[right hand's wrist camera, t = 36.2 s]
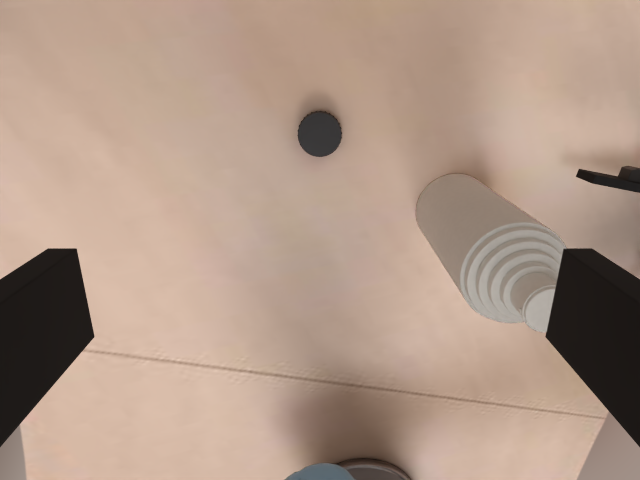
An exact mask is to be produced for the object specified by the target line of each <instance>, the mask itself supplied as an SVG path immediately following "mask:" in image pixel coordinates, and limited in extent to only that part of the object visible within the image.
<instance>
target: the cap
mask: <svg viewBox="0 0 640 480" xmlns="http://www.w3.org/2000/svg"><path fill="white" fill-rule="evenodd" d="M341 134H342V132H341V127H340V124H339V123H338V121H337V119H335V118H334V116H332V115H331V114H330V113H326V112H322V111H316V112H313V113H312V112H311V114H309V115H307V116H306V117H304V119H303V121H301V124H300V125H299V129H298V139H299V142H300V145H301V146H302V148H303V149H304V150H305V151H306V152H307V153H309V154H310V155H313V156H317V157H323V156H327V155H329V154H331V153H333V152H334V151H335V150H336V149H337V147H338V146H339V144H340V141H341V138H342V137H341Z"/></svg>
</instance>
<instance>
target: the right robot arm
mask: <svg viewBox="0 0 640 480" xmlns="http://www.w3.org/2000/svg"><path fill="white" fill-rule="evenodd" d="M93 338H94V332H93V327H92V323H91V318H90V313H89V308H88V303H87V298H86V293H85V288H84V283H83V278H82V273H81V268H80V263H79V258H78V253H77V249H47V250H45V251H44V252H42V253H41V254H39V255H37V256H36V257H34V258H33V259H31V260H30V261H28V262H27V263H25V264H24V265H22V266H20V267H19V268H17V269H16V270H14V271H13V272H11V273H10V274H8V275H7V276H5V277H3V278H2V279H0V447H1V446H2V444H3V443H4V442H5V441H6V440H7V438H8V437H9V436H10V435H11V434H12V433H13V432H14V430H15V429H16V428H17V427H18V426H19V424H20V423H21V422H22V421H23V420H24V419H25V417H26V416H27V415H28V414H29V413H30V412H31V410H32V409H33V408H34V407H35V406H36V405H37V403H38V402H39V401H40V400H41V399H42V398H43V396H44V395H45V394H46V393H47V392H48V391H49V389H50V388H51V387H52V386H53V385H54V384H55V382H56V381H57V380H58V379H59V378H60V376H61V375H62V374H63V373H64V372H65V371H66V369H67V368H68V367H69V366H70V365H71V364H72V362H73V361H74V360H75V359H76V358H77V357H78V355H79V354H80V353H81V352H82V351H83V350H84V348H85V347H86V346H87V345H88V344H89V343H90V341H91V340H92V339H93ZM546 338H547V339H548V340H549V341H550V343H551V344H552V345H553V346H554V347H555V348H556V350H557V351H558V352H559V353H560V354H561V355H562V357H563V358H564V359H565V360H566V361H567V362H568V364H569V365H570V366H571V367H572V368H573V369H574V371H575V372H576V373H577V374H578V375H579V377H580V378H581V379H582V380H583V381H584V382H585V384H586V385H587V386H588V387H589V388H590V389H591V391H592V392H593V393H594V394H595V395H596V396H597V398H598V399H599V400H600V401H601V402H602V403H603V405H604V406H605V407H606V408H607V409H608V410H609V412H610V413H611V414H612V415H613V416H614V417H615V419H616V420H617V421H618V422H619V423H620V424H621V426H622V427H623V428H624V429H625V430H626V431H627V433H628V434H629V435H630V436H631V437H632V439H633V440H634V441H635V442H636V443H637V444H638V446H639V447H640V279H638V278H637V277H635V276H633V275H632V274H630V273H629V272H627V271H626V270H624V269H623V268H621V267H620V266H618V265H616V264H615V263H613V262H612V261H610V260H609V259H607V258H606V257H604V256H603V255H601V254H599V253H598V252H596V251H595V250H593V249H563V253H562V258H561V263H560V268H559V273H558V278H557V283H556V288H555V293H554V298H553V303H552V308H551V313H550V318H549V323H548V327H547V332H546Z"/></svg>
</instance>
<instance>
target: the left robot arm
mask: <svg viewBox="0 0 640 480" xmlns="http://www.w3.org/2000/svg"><path fill="white" fill-rule="evenodd" d="M576 177H578V178H580V179H583V180H585V181H588V182H590V183H593V184H598V185H603V186H608V187H614V188H619V189H624V190H629V191H634V192H639V193H640V168H636V167H631V166H625V167H622V168H621V170H620V173H619V175H618V177H617V176H612V175H607V174H602V173H597V172H592V171H587V170H582V169H579V170H578V173H577V175H576ZM285 480H411V479H410V478H409V477H408V475H407V474H406V473H404V472H403V471H402V470H401V469H399V468H398V467H396V466H394V465H392V464H390V463H387V462H384V461H380V460H375V459H353V460H348V461H344V462H341V463H338V464H331V463H319V464H314V465H310V466H307V467H305V468H304V469H302V470H301V471H298V472H295V473H293V474H292V475H290V476H289V477H287V478H286V479H285Z"/></svg>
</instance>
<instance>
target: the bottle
mask: <svg viewBox="0 0 640 480" xmlns="http://www.w3.org/2000/svg"><path fill="white" fill-rule="evenodd" d="M416 220H417V224H418V226H419V228H420V230H421V231H422V233H423V235H424V236H425V238H426V239H427V241H428V242H429V244H430V245H431V247H432V249H433V250H434V252H435V253H436V255H437V256H438V258H439V260H440V261H441V263H442V264H443V266H444V267H445V269H446V270H447V272H448V274H449V275H450V277H451V278H452V280H453V281H454V283H455V285H456V286H457V288H458V289H459V291H460V292H461V294H462V295H463V297H464V299H465V300H466V302H467V303H468V304H469V306H470V307H471V308H472V309H473V310H475V311H476V312H477V313H479V314H480V315H482V316H484V317H486V318H489V319H492V320H495V321H498V322H503V323H520V322H525V323H526V324H527V325H528V326H529V327H530V328H531V329H533V330H535V331H539V332H547V327H548V323H549V318H550V313H551V308H552V303H553V298H554V293H555V288H556V283H557V278H558V273H559V268H560V263H561V258H562V253H563V249H567V248H566V246H565V244H564V242H563V241H562V240H561V238H560V237H559V236H558V235H557V234H556V233H554V232H553V231H552V230H550V229H549V228H547V227H546V226H544V225H543V224H542V223H540V222H539V221H537V220H536V219H534V218H533V217H531V216H530V215H528V214H527V213H525V212H524V211H522V210H521V209H519V208H518V207H517V206H515V205H514V204H512V203H511V202H509V201H508V200H506V199H505V198H503V197H502V196H500V195H499V194H497V193H496V192H494V191H493V190H492V189H490V188H489V187H487V186H486V185H484V184H483V183H481V182H480V181H478V180H477V179H475V178H473V177H471V176H469V175H465V174H448V175H445V176H442V177H440V178H437V179H436V180H434V181H433V182H431V183H430V184H429V185H428V186H427V187H426V188H425V189H424V190H423V192H422V193H421V195H420V197H419V199H418V202H417V205H416Z"/></svg>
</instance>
